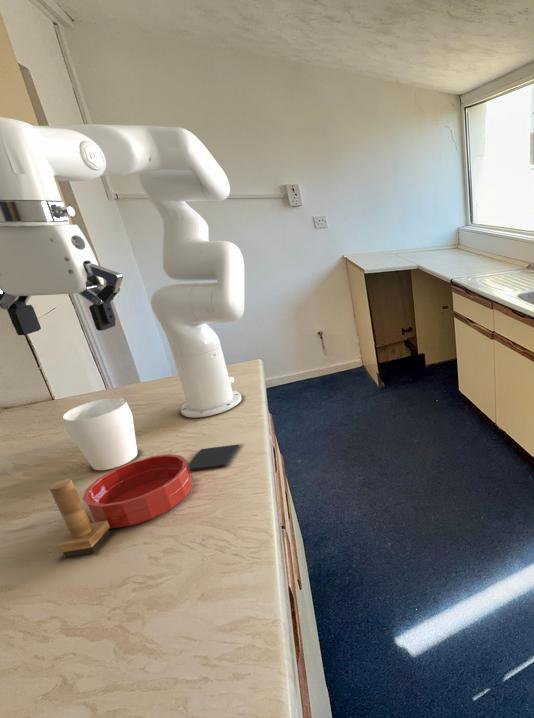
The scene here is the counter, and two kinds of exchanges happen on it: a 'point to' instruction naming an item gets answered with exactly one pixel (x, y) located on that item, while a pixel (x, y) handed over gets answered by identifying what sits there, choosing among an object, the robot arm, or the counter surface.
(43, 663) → the counter surface
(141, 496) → the bowl
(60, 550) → the wooden stamp
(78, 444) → the cup
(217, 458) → the mat
